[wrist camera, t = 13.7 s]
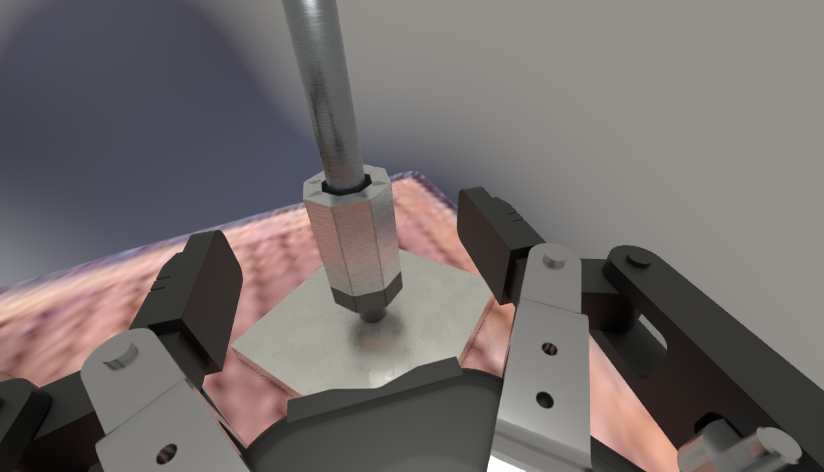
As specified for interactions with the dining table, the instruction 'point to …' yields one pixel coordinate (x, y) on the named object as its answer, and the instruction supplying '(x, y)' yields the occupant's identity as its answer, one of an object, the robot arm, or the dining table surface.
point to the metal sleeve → (355, 232)
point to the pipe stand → (313, 300)
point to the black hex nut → (369, 297)
